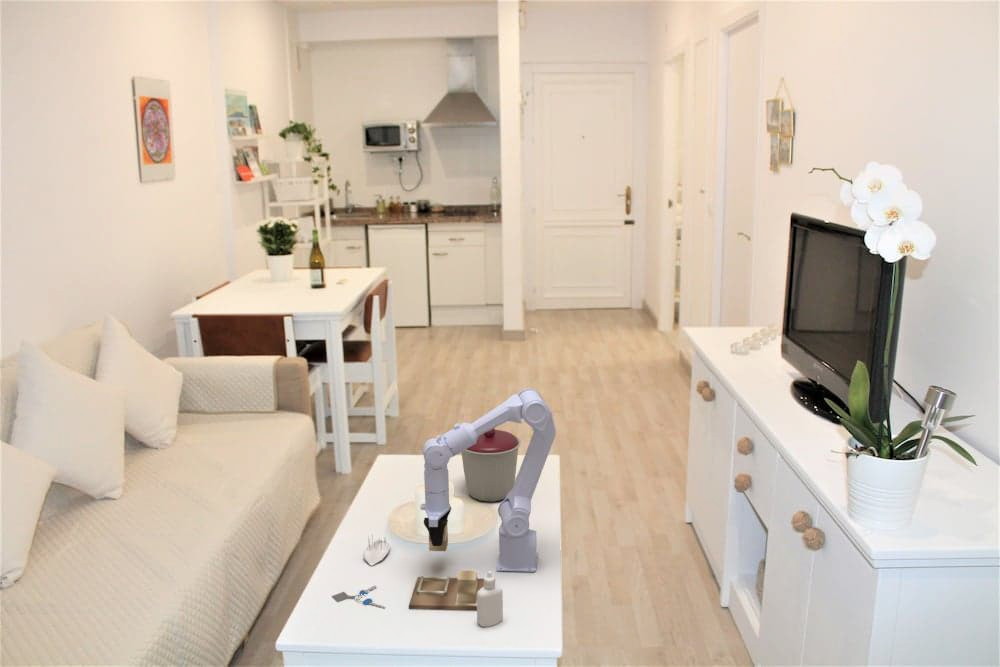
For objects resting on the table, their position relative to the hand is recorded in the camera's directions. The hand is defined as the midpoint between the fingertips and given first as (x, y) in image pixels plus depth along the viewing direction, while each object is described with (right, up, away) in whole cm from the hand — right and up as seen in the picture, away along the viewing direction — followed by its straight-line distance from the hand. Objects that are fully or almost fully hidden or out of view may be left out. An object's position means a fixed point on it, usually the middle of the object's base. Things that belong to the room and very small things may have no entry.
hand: (438, 540), depth 201 cm
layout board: (+3, -10, -9) cm, 14 cm away
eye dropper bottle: (+13, -13, -19) cm, 27 cm away
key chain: (-17, -11, -8) cm, 22 cm away
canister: (+12, +3, +44) cm, 46 cm away
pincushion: (-16, -6, +10) cm, 20 cm away
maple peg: (0, -2, 0) cm, 2 cm away
